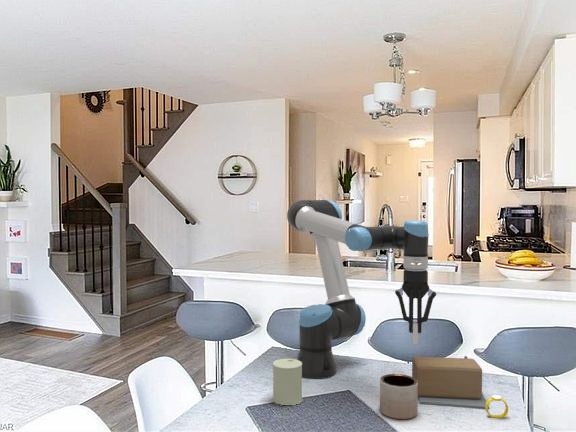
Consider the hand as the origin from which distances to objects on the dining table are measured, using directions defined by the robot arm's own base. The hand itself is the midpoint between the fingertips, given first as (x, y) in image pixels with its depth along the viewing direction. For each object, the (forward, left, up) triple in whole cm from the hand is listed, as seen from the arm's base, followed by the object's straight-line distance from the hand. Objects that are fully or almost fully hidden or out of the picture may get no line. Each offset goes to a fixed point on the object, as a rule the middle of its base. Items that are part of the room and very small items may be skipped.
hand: (414, 342), depth 156 cm
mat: (+11, 0, -16) cm, 20 cm away
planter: (-6, -15, -17) cm, 23 cm away
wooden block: (0, 0, -11) cm, 11 cm away
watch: (+22, -13, -17) cm, 31 cm away
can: (-39, -13, -17) cm, 44 cm away
